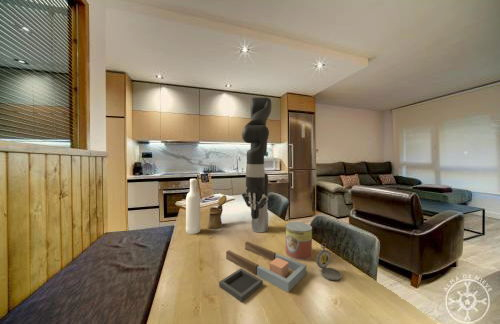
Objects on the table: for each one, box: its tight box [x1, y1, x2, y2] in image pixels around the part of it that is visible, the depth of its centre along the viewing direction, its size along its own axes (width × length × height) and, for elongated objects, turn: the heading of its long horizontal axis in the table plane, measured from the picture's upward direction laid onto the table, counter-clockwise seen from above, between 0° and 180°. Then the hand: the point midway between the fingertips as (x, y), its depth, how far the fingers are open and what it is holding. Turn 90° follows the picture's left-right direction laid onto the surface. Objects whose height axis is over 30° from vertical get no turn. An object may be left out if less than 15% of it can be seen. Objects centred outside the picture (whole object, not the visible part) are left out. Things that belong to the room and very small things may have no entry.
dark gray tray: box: [218, 268, 264, 303], centre depth 60 cm, size 10×10×2 cm
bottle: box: [185, 178, 201, 235], centre depth 105 cm, size 8×8×30 cm
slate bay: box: [256, 253, 308, 293], centre depth 66 cm, size 13×12×3 cm
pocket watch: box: [315, 242, 343, 281], centre depth 67 cm, size 8×8×10 cm
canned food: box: [284, 221, 313, 261], centre depth 81 cm, size 11×11×12 cm
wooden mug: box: [207, 194, 227, 230], centre depth 116 cm, size 9×14×18 cm, turn 143°
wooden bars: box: [225, 241, 277, 276], centre depth 76 cm, size 13×16×3 cm
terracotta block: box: [269, 258, 290, 278], centre depth 67 cm, size 5×5×4 cm
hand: (254, 218), depth 74 cm, fingers closed
